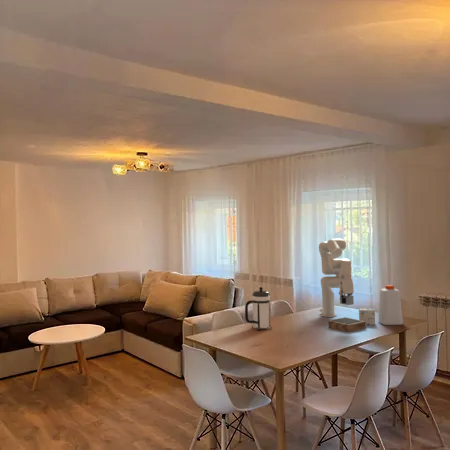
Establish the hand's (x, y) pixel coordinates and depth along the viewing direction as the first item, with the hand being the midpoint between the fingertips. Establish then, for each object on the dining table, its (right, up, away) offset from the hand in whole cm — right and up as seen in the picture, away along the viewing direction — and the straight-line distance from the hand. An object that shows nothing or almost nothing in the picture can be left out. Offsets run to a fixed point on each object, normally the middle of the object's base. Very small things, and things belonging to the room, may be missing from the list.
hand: (346, 302), depth 316 cm
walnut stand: (0, -18, 0) cm, 18 cm away
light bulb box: (+19, -18, +12) cm, 29 cm away
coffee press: (-61, -20, +2) cm, 64 cm away
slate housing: (0, -1, 0) cm, 1 cm away
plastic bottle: (+36, -18, +12) cm, 42 cm away
